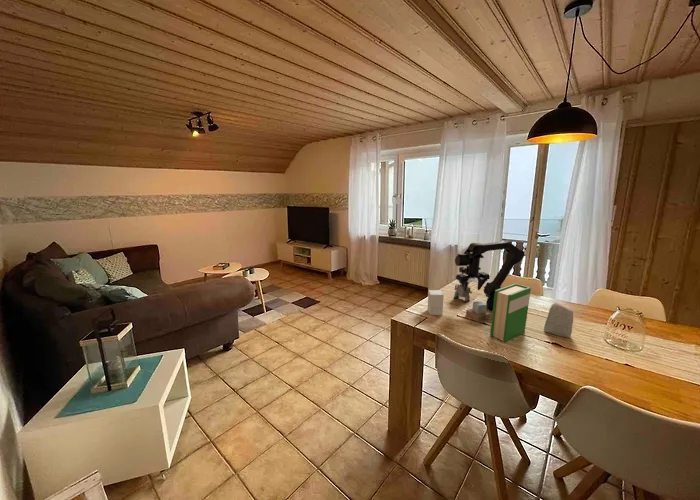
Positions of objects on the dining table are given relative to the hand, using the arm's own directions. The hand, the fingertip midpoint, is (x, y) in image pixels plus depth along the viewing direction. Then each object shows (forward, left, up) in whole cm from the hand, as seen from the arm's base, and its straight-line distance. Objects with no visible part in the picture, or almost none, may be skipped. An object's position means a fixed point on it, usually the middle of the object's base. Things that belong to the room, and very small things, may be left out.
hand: (471, 290), depth 165 cm
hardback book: (0, +30, -12) cm, 32 cm away
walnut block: (+2, +10, -12) cm, 16 cm away
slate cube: (+2, +10, -8) cm, 13 cm away
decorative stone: (-24, +35, -12) cm, 44 cm away
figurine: (-6, -15, -12) cm, 20 cm away
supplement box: (+22, -2, -12) cm, 25 cm away
